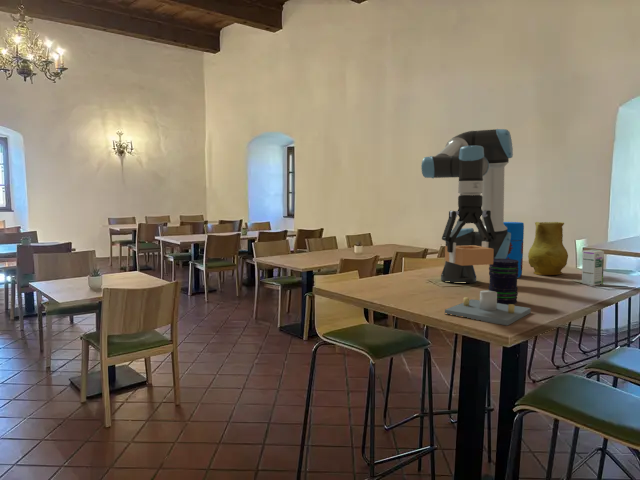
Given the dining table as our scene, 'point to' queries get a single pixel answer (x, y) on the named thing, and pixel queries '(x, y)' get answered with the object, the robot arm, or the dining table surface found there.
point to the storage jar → (504, 280)
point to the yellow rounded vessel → (548, 249)
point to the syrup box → (592, 267)
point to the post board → (489, 315)
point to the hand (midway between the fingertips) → (468, 261)
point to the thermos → (516, 243)
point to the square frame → (472, 255)
